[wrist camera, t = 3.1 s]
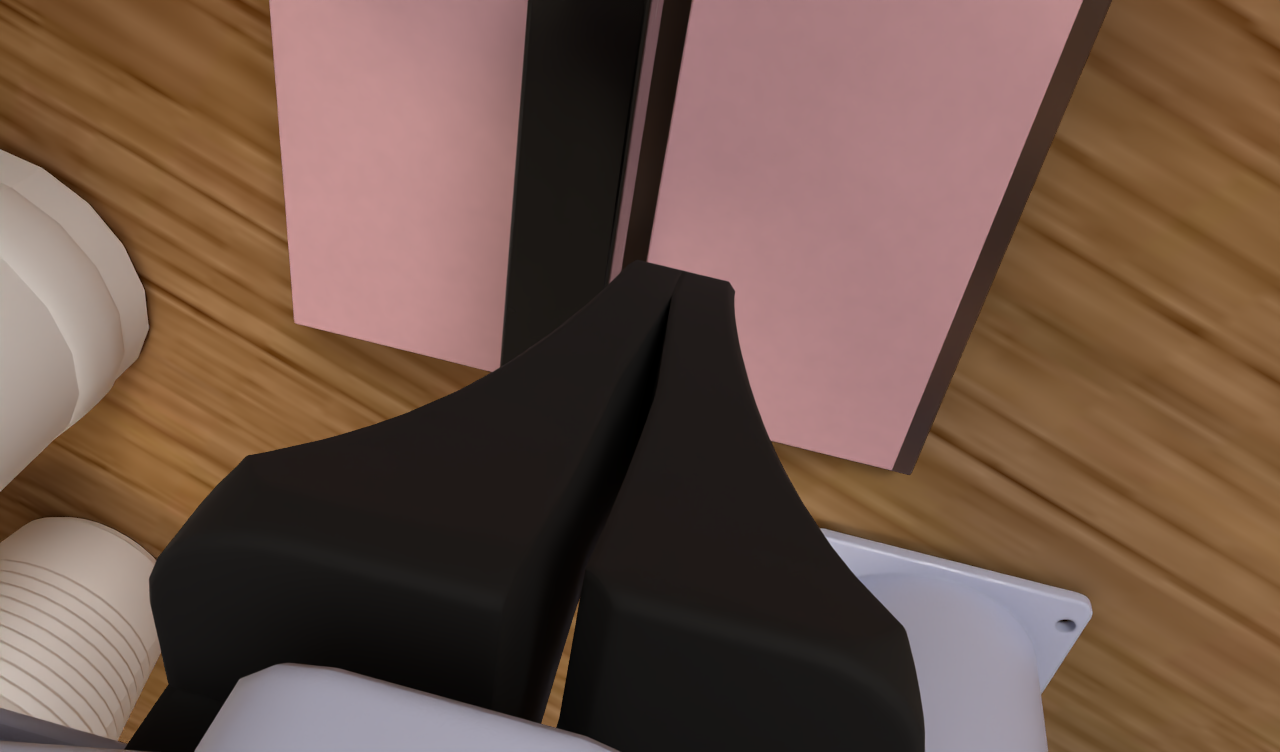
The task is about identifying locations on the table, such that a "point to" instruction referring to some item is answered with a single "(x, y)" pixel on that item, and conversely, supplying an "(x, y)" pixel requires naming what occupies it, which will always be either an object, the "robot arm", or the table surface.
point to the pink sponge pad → (678, 181)
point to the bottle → (58, 311)
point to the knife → (575, 157)
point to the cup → (75, 624)
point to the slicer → (997, 238)
